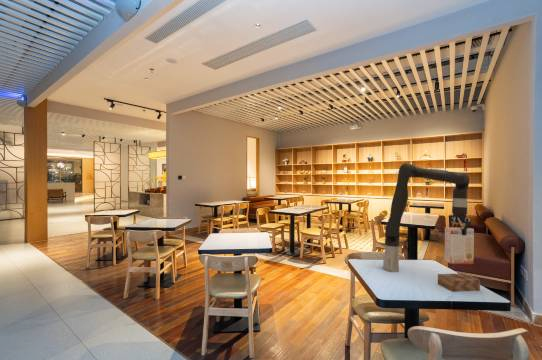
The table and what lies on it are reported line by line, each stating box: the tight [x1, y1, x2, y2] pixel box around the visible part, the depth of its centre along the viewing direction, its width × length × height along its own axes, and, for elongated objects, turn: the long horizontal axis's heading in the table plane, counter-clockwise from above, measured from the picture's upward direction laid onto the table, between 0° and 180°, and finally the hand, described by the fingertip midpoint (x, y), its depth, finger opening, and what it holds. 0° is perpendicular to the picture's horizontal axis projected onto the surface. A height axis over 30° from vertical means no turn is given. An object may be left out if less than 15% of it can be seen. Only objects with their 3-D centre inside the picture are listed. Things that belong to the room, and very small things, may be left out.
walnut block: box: [437, 272, 481, 292], centre depth 162 cm, size 18×11×6 cm, turn 98°
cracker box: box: [444, 226, 475, 265], centre depth 162 cm, size 14×6×21 cm, turn 92°
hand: (459, 234), depth 162 cm, fingers closed on cracker box, 6 cm apart
